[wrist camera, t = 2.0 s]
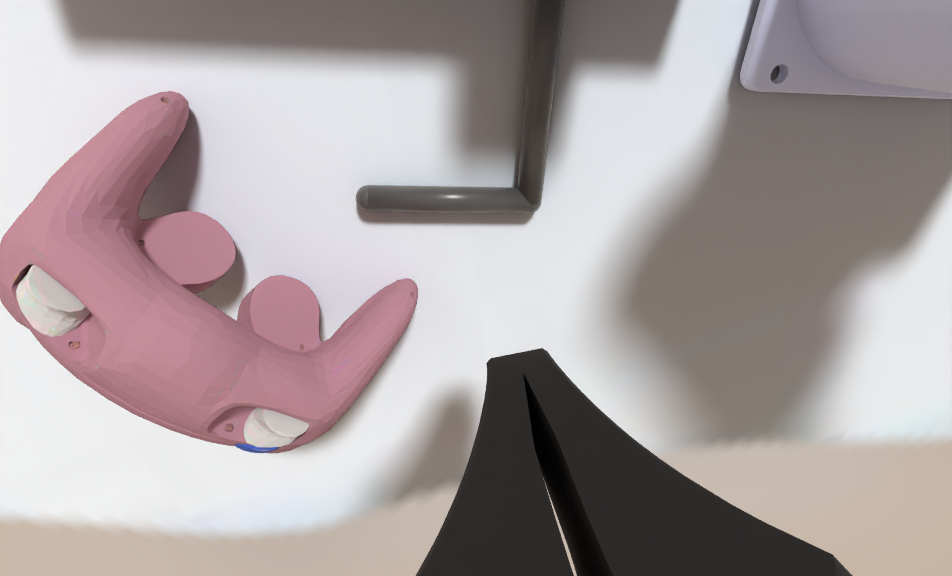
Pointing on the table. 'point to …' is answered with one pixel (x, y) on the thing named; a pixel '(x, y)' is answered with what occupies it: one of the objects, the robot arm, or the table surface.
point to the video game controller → (180, 303)
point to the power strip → (532, 142)
